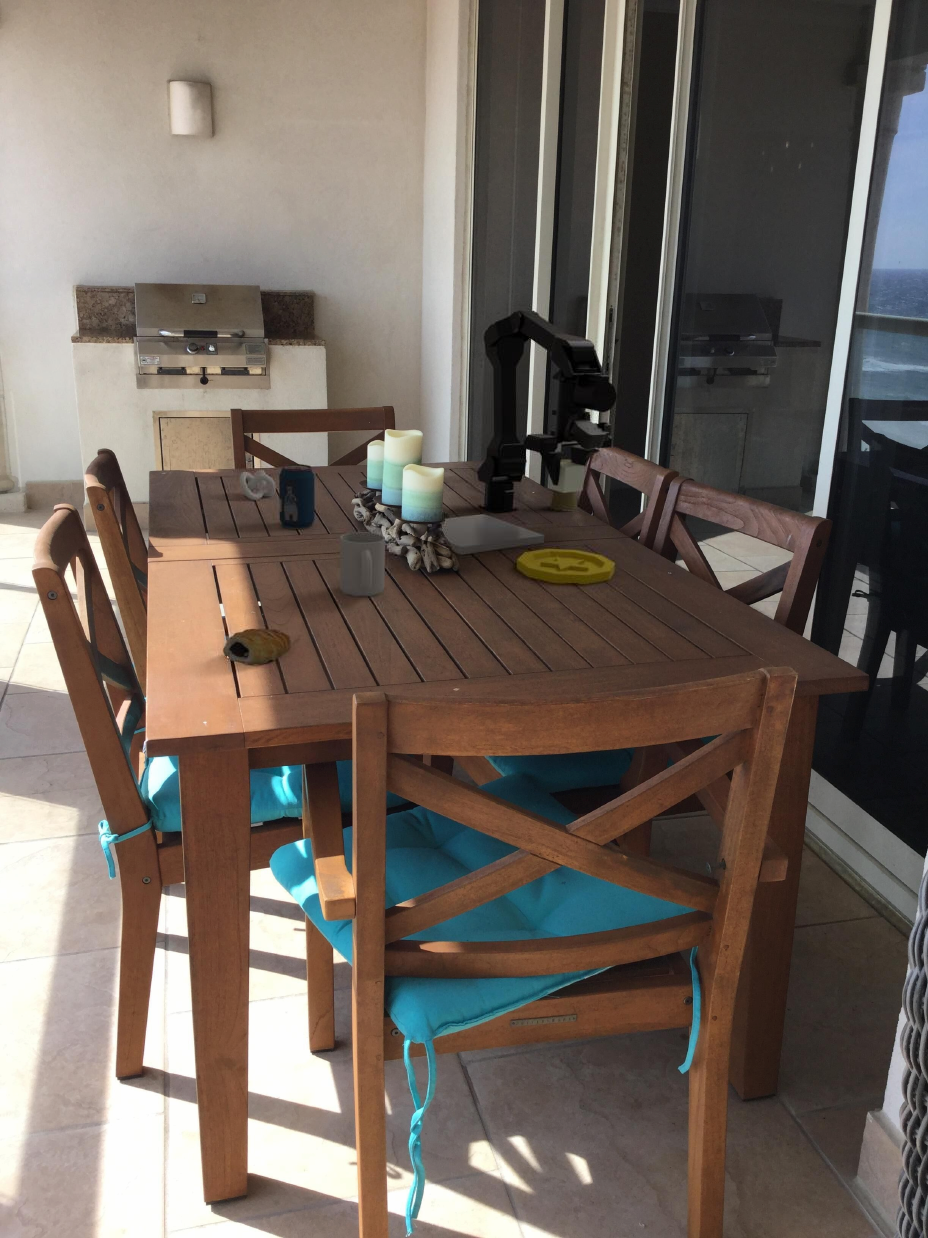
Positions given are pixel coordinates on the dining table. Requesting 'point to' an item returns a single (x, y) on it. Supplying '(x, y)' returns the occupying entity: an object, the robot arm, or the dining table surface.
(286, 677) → the dining table surface
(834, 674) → the dining table surface
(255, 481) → the knot
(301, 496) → the soda can
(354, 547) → the cup
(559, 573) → the decorative disc
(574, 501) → the cork
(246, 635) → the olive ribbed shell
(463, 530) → the grey tile
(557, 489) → the sage cube
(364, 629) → the dining table surface
